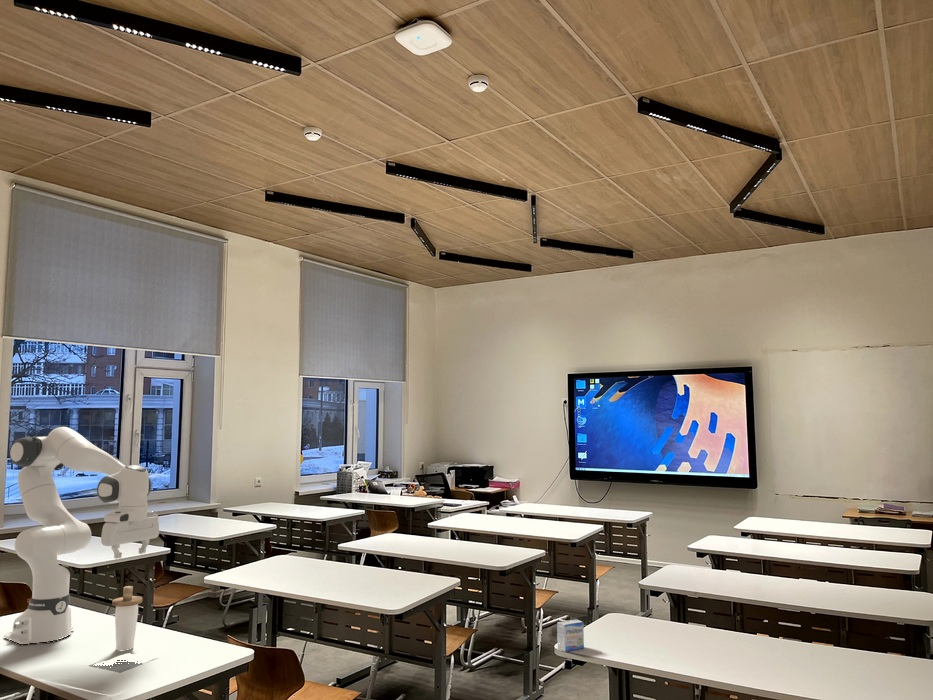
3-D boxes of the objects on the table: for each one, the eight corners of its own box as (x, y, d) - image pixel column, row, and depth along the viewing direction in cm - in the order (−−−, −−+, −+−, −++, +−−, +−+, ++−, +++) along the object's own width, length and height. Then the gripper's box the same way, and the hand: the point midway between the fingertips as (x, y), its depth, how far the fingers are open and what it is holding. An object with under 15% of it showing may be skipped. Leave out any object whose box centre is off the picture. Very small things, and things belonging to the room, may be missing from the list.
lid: (105, 604, 221) (106, 588, 222) (129, 598, 229) (129, 583, 230) (125, 607, 218) (126, 591, 218) (148, 601, 226) (149, 585, 227)
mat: (88, 667, 206) (88, 665, 206) (127, 653, 218) (127, 652, 218) (120, 673, 200) (120, 672, 200) (158, 659, 213) (158, 657, 213)
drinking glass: (120, 654, 217) (123, 606, 219) (108, 650, 221) (111, 603, 222) (140, 648, 223) (142, 602, 225) (128, 645, 226) (131, 599, 228)
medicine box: (565, 652, 219) (564, 625, 220) (557, 648, 223) (556, 621, 224) (584, 648, 223) (583, 621, 224) (576, 645, 227) (575, 618, 228)
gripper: (151, 510, 238) (149, 549, 236) (99, 516, 219) (96, 560, 218) (164, 511, 235) (162, 551, 233) (112, 518, 217) (110, 561, 215)
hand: (130, 555), depth 225 cm, fingers open, 8 cm apart
